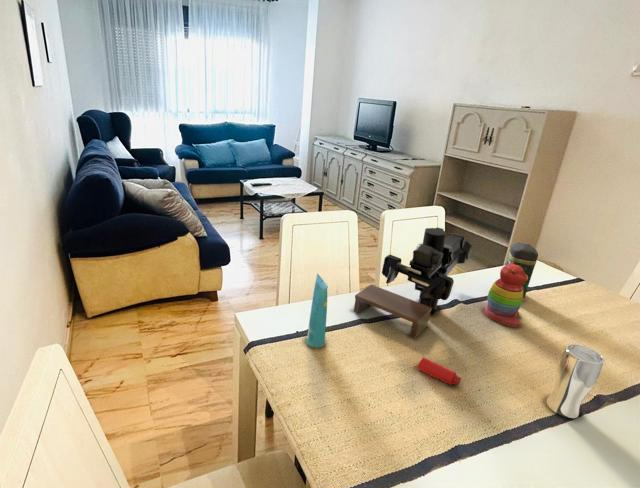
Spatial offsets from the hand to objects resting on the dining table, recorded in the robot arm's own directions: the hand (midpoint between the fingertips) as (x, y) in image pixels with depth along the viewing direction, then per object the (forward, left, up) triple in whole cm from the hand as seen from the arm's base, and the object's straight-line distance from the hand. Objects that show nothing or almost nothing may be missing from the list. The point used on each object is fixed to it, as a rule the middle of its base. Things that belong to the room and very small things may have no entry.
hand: (403, 288), depth 99 cm
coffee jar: (-57, +17, -17) cm, 62 cm away
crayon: (+5, +13, -17) cm, 22 cm away
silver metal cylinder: (-5, +38, -17) cm, 43 cm away
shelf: (-11, -7, -17) cm, 22 cm away
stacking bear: (-38, +18, -17) cm, 46 cm away
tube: (+15, -16, -17) cm, 28 cm away
